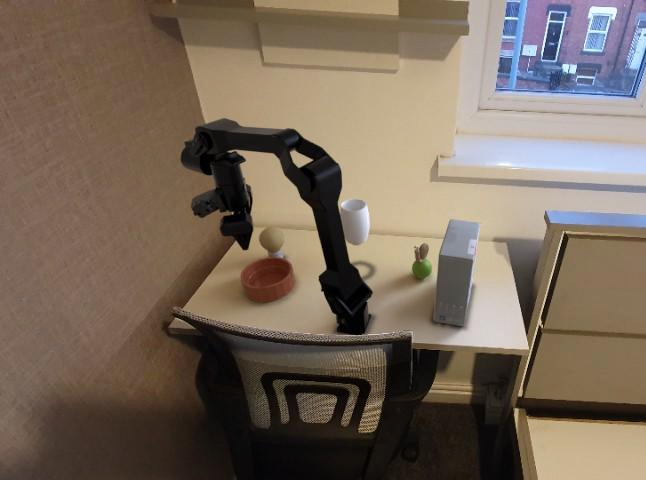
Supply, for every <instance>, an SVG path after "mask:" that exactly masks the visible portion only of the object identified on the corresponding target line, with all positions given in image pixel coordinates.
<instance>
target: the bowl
mask: <svg viewBox="0 0 646 480" xmlns="http://www.w3.org/2000/svg"><path fill="white" fill-rule="evenodd" d="M239 278H240V282H241V286H242V288H243V293H244V294H245V296H246V297H247V298H248V299H249V300H252V301H255V302H259V303H260V302H261V303H264V302H265V303H266V302H273V301H276V300H279V299H281V298H283V297H285V296H287V295H288V294H289V293H290V292H291V291H293V289H294V287H295V285H296V277H295V272H294V268H293V265H292V263H291V262H290V261H289V260H288V259H285V258H284V257H283V258H279V257H269V256H267V257H263V258H259V259H256V260H254V261H252V262H250V263H249V264H247V265H246V266H245V267H244V268H243V269H242V271H241V272H240V275H239Z"/></svg>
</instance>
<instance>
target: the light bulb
mask: <svg viewBox="0 0 646 480" xmlns="http://www.w3.org/2000/svg"><path fill="white" fill-rule="evenodd" d="M285 240H286V239H285V234H284V232H283V230H281V229H280V228H278V227H272V226H271V227H265V228H264V229H263V230H262V231H260V234H259V235H258V242H259V245H260V246H261V247H262V248H263V249H264V250H266V251H267V255H268V256H267V257H279V258H283V259H284V252H283V249H282V247H283V246H284V243H285Z"/></svg>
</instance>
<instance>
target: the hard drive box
mask: <svg viewBox="0 0 646 480" xmlns="http://www.w3.org/2000/svg"><path fill="white" fill-rule="evenodd" d="M480 230H481V223H480V222H475V221H468V220H461V219H454V218H450V220H449V221H448V224H447V228H446V230H445V234H444V237H443V240H442V242H441V246H440V249H439V253H438V259H437V273H436V282H435V283H436V284H435V296H434V308H433V321H434V322H436V323H441V324H447V325H453V326H459V327H465V323H466V320H467V313H468V309H469V303H470V297H471V293H472V286H473V279H474V274H475V273H474V272H475V265H476V259H477V251H478V245H479V237H480Z"/></svg>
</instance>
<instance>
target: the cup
mask: <svg viewBox="0 0 646 480" xmlns="http://www.w3.org/2000/svg"><path fill="white" fill-rule="evenodd" d="M339 211H340V216H341V221H342V226H343V231H344V236H345V241H346V243H347V244H350V245H352V246H360V245H362V244H364V243H365V242H367V240H368V236H369V234H370V227H371V221H370V214H369V208H368V204H367V202H366V201H365V200H363V199H360V198H349V199H346V200H344V201H343V202H342V203H341V205H340V208H339Z"/></svg>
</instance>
